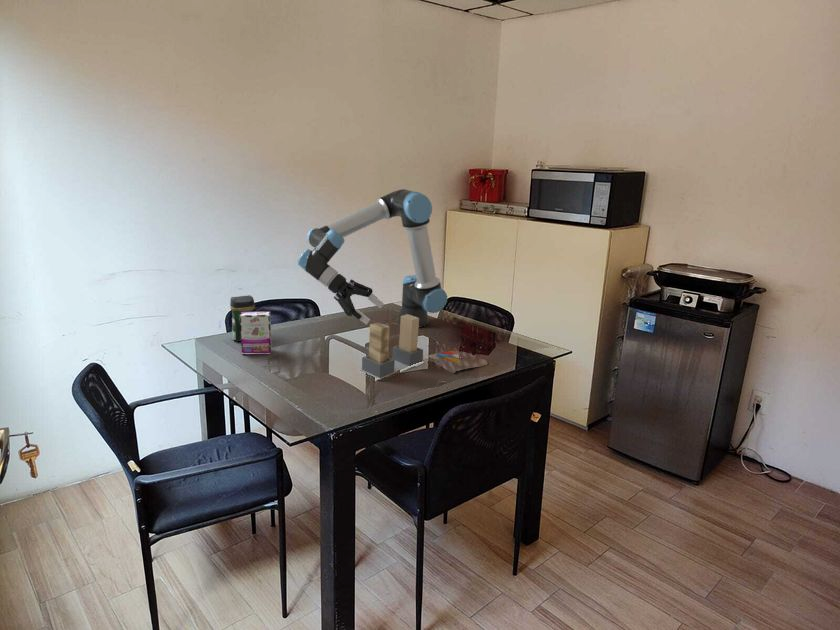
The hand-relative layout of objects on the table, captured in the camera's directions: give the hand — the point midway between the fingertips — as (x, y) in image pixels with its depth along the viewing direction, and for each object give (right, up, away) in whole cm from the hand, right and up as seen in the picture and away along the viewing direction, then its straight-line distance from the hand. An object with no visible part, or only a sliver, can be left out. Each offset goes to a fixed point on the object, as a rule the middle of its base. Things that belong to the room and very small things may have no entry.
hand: (375, 314), depth 217 cm
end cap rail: (+7, -21, -5) cm, 22 cm away
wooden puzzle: (+33, -20, +5) cm, 39 cm away
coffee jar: (-56, -11, +14) cm, 59 cm away
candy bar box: (-47, -15, +1) cm, 50 cm away
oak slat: (+2, -21, -11) cm, 24 cm away
